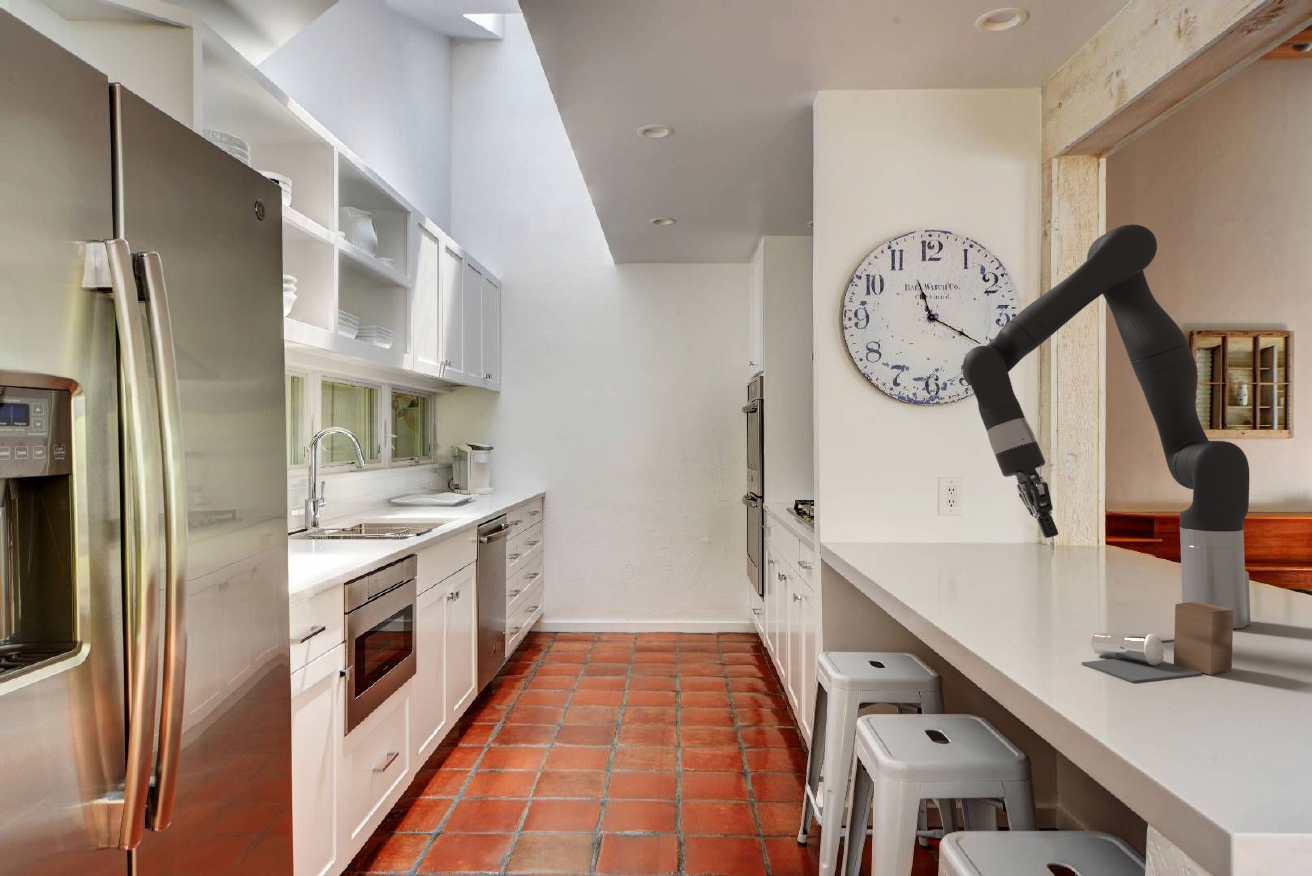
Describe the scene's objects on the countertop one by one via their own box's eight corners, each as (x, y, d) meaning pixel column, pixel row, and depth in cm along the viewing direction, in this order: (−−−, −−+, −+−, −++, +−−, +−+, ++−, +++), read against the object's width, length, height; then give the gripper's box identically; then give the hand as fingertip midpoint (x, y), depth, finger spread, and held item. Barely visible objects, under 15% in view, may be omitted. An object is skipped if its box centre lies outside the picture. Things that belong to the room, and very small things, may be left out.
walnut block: (1194, 660, 110) (1196, 601, 110) (1231, 670, 105) (1233, 609, 105) (1173, 664, 108) (1175, 604, 108) (1210, 674, 103) (1212, 612, 103)
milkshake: (1108, 646, 117) (1179, 654, 108) (1094, 663, 114) (1166, 673, 105) (1100, 620, 116) (1171, 626, 108) (1085, 637, 113) (1157, 644, 105)
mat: (1146, 657, 113) (1146, 655, 113) (1201, 674, 104) (1201, 672, 104) (1081, 664, 110) (1081, 662, 110) (1132, 682, 101) (1132, 680, 101)
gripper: (1044, 434, 128) (1083, 528, 124) (1028, 447, 141) (1064, 533, 137) (1000, 447, 130) (1038, 540, 126) (989, 458, 143) (1023, 544, 138)
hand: (1051, 536), depth 131 cm, fingers closed
